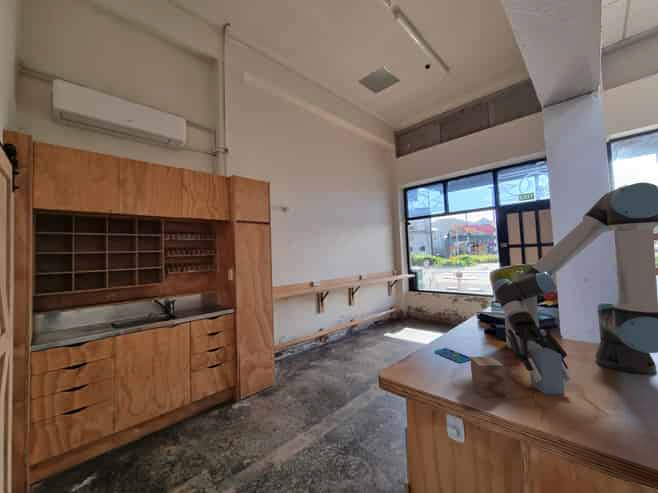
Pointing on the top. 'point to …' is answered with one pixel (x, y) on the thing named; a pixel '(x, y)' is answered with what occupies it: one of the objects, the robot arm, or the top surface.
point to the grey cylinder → (533, 310)
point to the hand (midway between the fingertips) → (553, 380)
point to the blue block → (547, 370)
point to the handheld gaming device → (453, 355)
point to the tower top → (487, 369)
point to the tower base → (489, 388)
